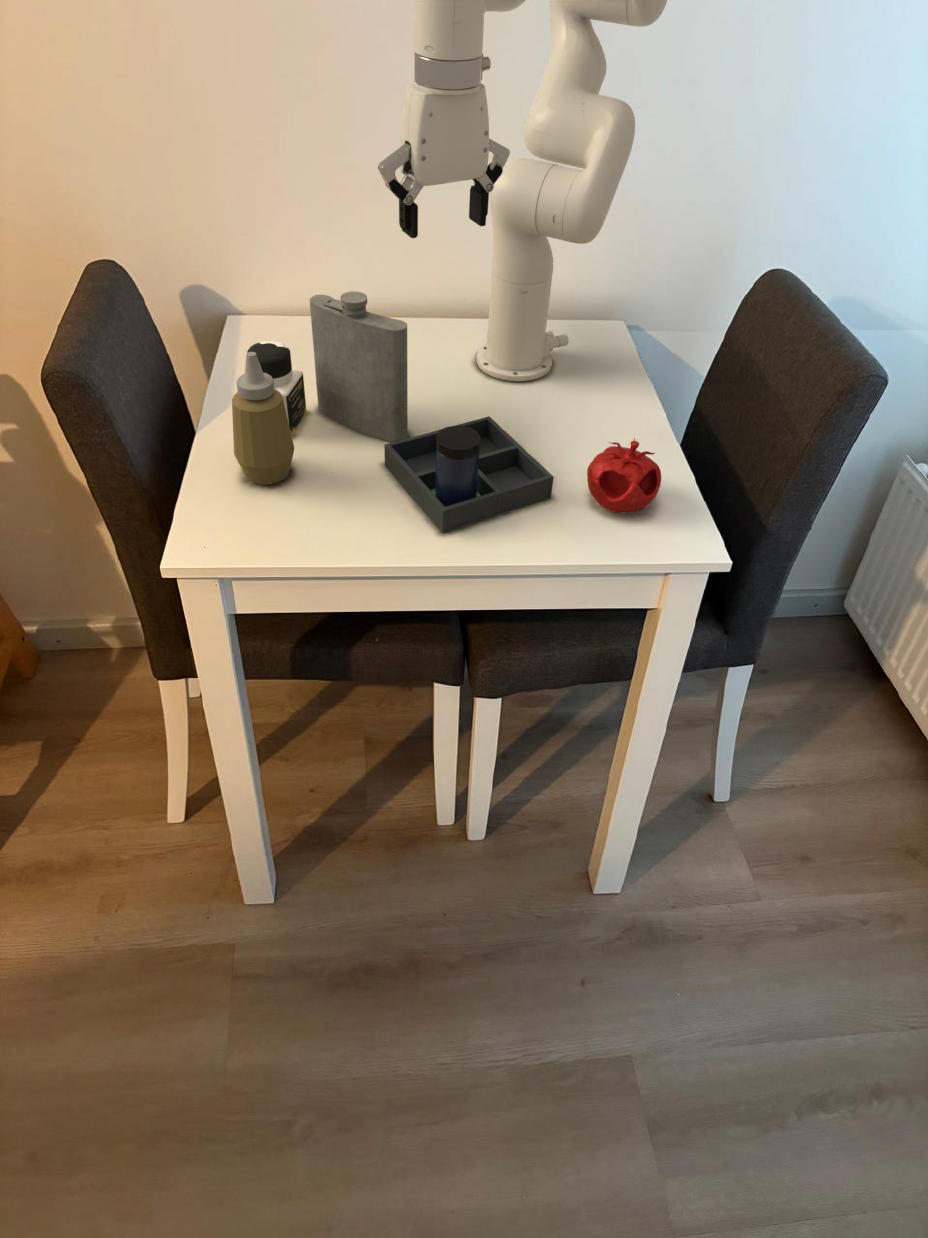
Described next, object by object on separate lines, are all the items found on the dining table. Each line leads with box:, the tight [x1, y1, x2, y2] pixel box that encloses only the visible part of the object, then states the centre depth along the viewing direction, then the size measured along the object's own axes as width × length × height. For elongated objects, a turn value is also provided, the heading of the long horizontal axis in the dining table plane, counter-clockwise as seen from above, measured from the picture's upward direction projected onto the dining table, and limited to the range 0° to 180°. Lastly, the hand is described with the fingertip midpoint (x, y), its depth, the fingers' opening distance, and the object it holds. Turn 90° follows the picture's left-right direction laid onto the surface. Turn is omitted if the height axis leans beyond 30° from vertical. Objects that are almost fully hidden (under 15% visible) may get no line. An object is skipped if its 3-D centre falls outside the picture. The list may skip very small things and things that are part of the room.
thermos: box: [435, 425, 480, 507], centre depth 116 cm, size 6×6×10 cm
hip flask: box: [309, 291, 409, 442], centre depth 127 cm, size 16×4×20 cm, turn 58°
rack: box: [383, 415, 555, 534], centre depth 123 cm, size 17×17×4 cm
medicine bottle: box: [246, 340, 308, 436], centre depth 129 cm, size 7×7×12 cm
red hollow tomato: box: [586, 437, 662, 514], centre depth 120 cm, size 10×10×9 cm
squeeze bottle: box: [231, 352, 295, 485], centre depth 118 cm, size 8×8×18 cm
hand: (443, 228), depth 111 cm, fingers open, 9 cm apart
